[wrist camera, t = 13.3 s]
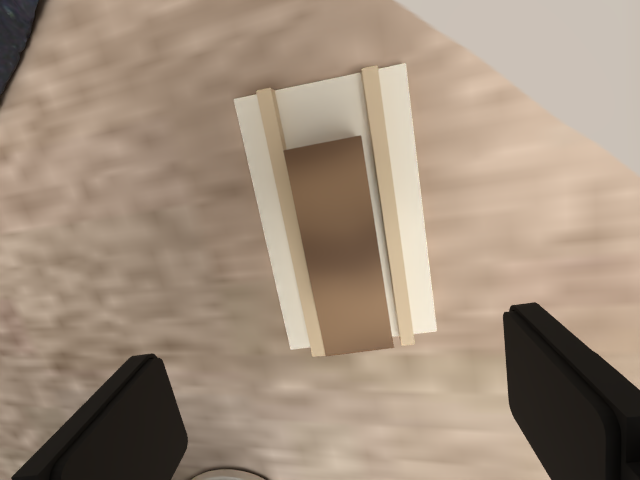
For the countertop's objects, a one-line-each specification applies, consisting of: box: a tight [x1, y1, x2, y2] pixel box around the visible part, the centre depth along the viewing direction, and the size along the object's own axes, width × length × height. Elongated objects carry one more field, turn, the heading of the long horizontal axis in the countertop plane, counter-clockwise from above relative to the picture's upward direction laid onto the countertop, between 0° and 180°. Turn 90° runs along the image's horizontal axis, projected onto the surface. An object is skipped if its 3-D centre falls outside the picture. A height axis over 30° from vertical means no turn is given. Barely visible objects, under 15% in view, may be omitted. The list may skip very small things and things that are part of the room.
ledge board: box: [234, 63, 437, 357], centre depth 28 cm, size 20×12×3 cm, turn 10°
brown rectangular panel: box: [283, 135, 394, 356], centre depth 24 cm, size 12×4×8 cm, turn 11°
